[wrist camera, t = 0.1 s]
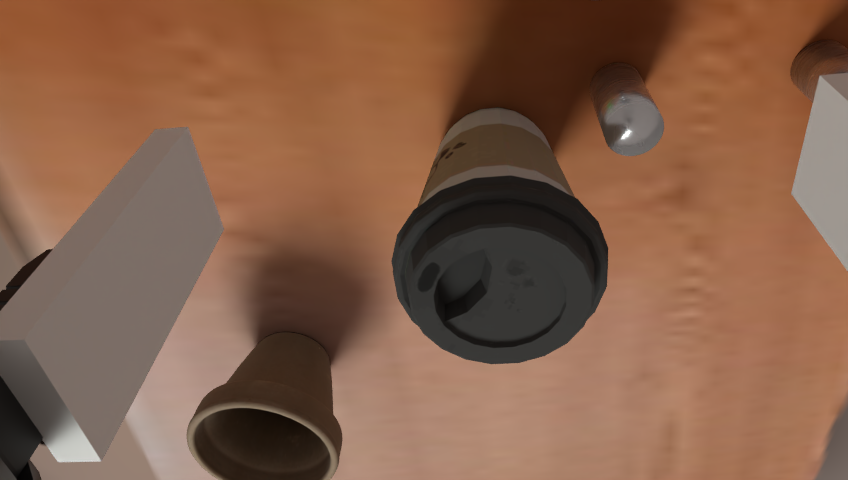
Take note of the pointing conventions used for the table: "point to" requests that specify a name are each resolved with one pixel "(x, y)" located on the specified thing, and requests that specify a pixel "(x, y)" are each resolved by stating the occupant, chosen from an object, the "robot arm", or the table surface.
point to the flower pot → (271, 416)
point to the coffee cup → (499, 245)
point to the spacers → (640, 118)
